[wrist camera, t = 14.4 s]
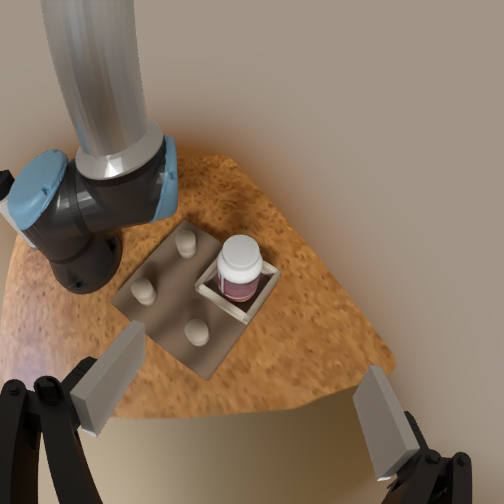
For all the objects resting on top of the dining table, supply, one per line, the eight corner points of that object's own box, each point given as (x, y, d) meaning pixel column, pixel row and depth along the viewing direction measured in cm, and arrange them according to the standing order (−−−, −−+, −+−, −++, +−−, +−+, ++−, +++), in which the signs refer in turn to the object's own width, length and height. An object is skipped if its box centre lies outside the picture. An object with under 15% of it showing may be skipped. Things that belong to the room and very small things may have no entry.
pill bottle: (264, 286, 44) (276, 251, 35) (237, 311, 42) (241, 282, 32) (237, 260, 46) (242, 221, 37) (209, 283, 44) (206, 248, 34)
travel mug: (26, 251, 45) (-22, 194, 28) (35, 226, 49) (-6, 167, 31) (44, 252, 46) (-5, 191, 29) (54, 226, 49) (12, 163, 32)
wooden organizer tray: (115, 307, 43) (100, 292, 37) (186, 228, 52) (182, 205, 46) (207, 381, 39) (204, 378, 33) (275, 285, 48) (283, 267, 42)
